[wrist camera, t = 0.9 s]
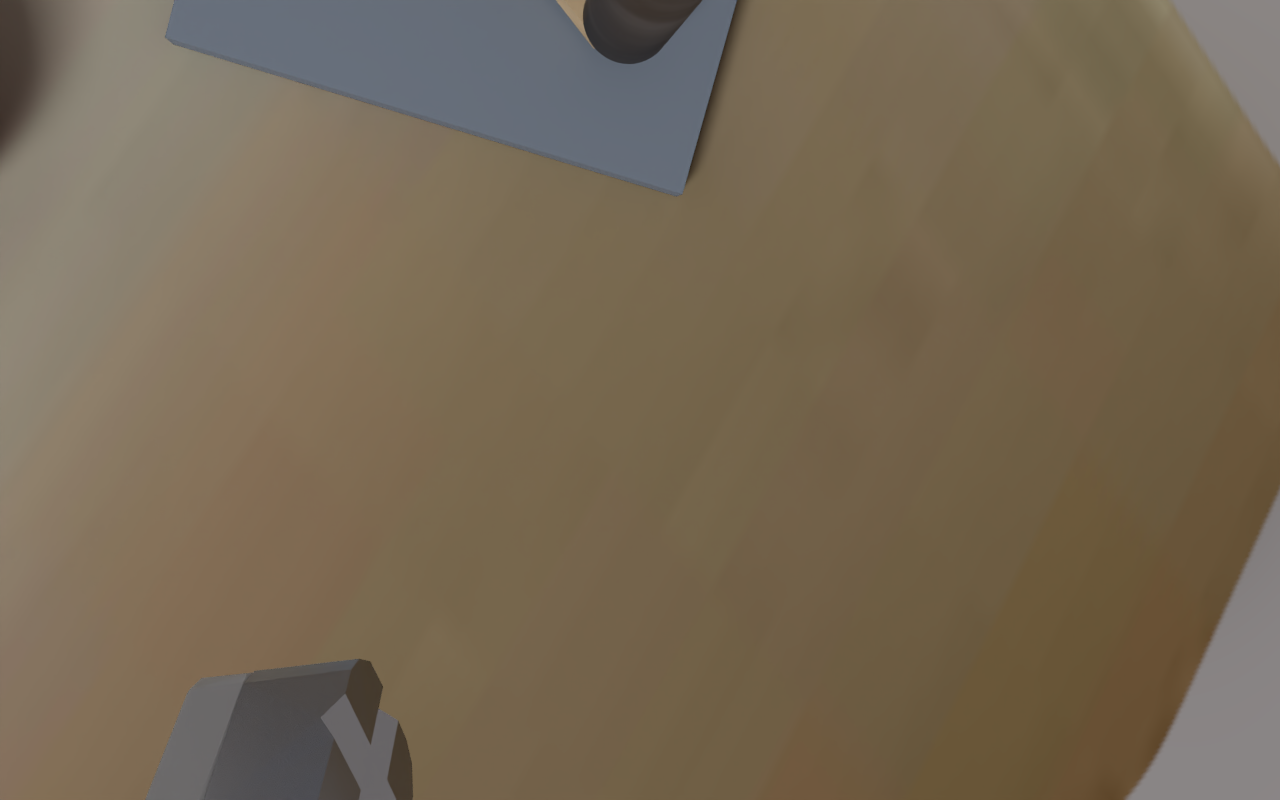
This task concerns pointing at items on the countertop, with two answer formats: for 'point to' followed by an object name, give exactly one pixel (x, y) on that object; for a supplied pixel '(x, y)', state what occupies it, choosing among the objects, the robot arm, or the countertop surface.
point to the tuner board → (485, 72)
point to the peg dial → (628, 25)
